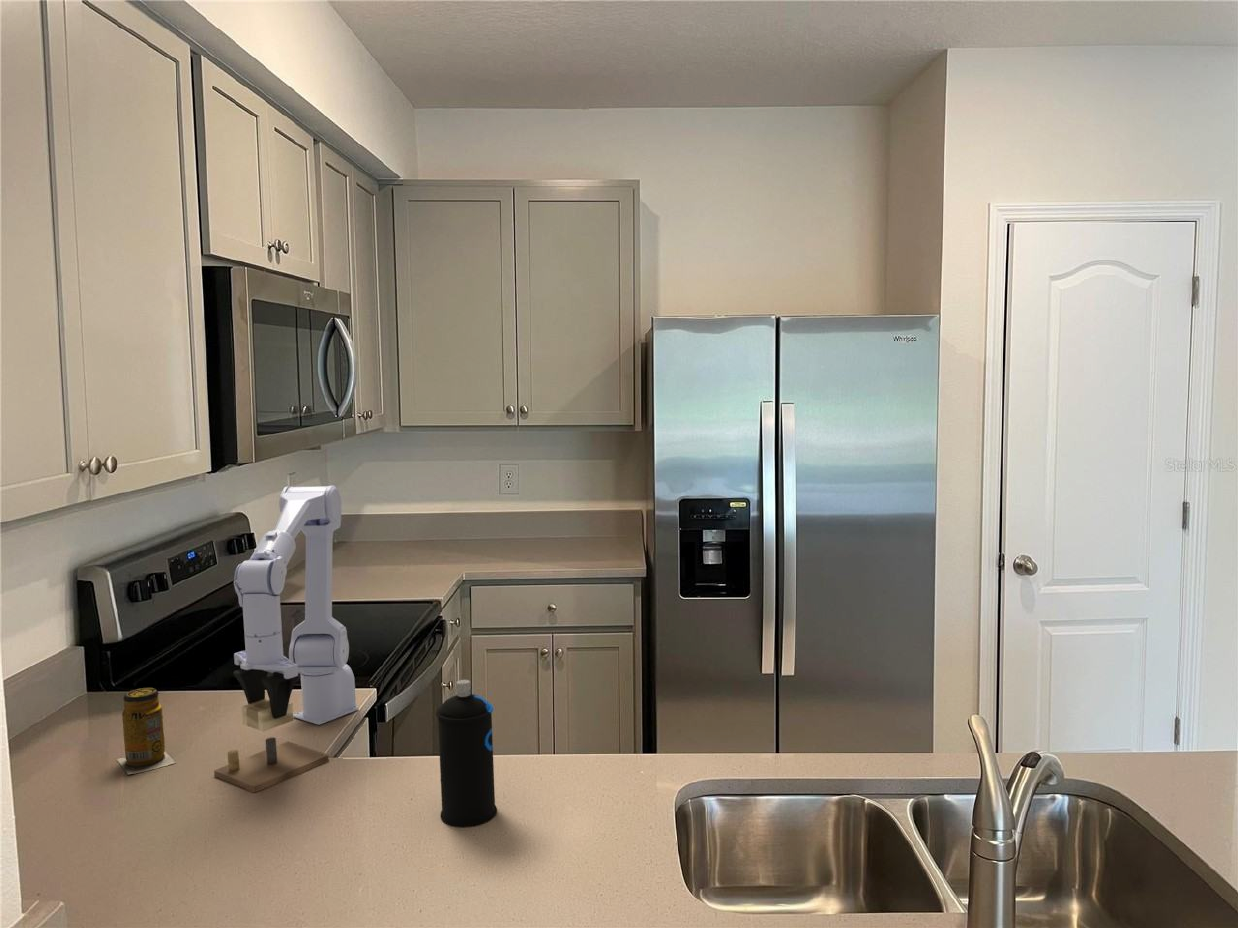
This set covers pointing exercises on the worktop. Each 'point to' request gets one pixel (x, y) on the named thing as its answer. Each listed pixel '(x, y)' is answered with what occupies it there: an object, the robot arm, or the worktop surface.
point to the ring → (264, 715)
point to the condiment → (143, 732)
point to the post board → (269, 765)
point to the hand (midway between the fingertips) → (268, 712)
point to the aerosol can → (466, 758)
